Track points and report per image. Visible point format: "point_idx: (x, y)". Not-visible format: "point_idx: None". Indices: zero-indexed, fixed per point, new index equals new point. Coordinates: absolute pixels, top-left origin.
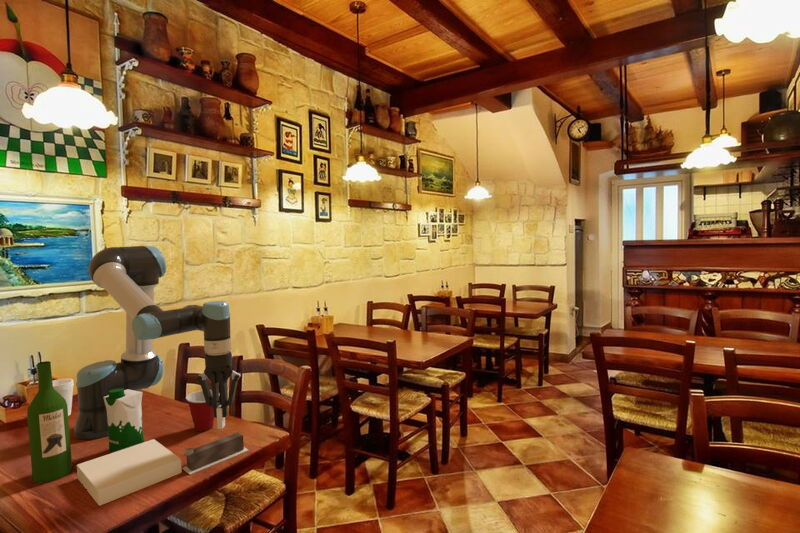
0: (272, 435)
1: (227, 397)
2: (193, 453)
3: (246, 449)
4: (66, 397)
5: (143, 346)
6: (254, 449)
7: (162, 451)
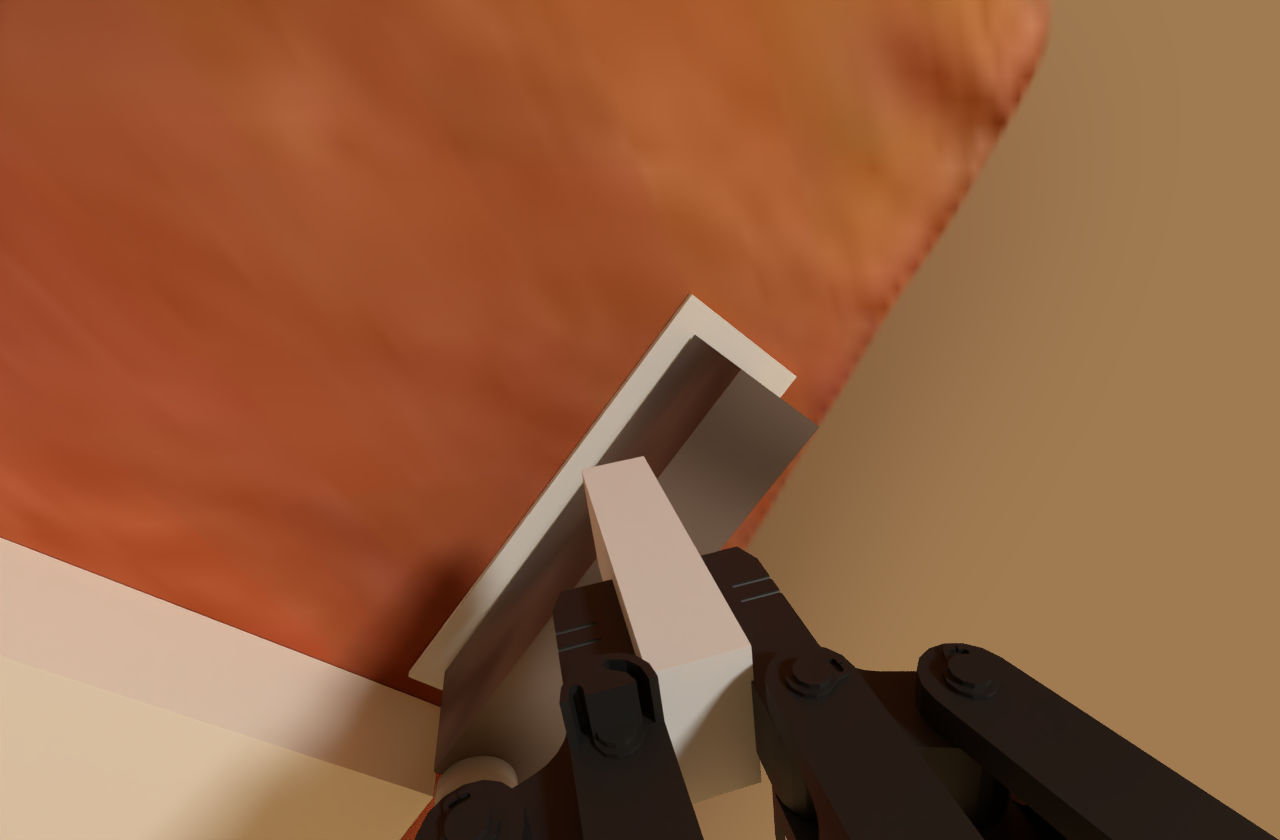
0: (925, 56)
1: (943, 798)
2: (522, 779)
3: (777, 375)
4: None
5: None
6: (831, 350)
7: (132, 742)
